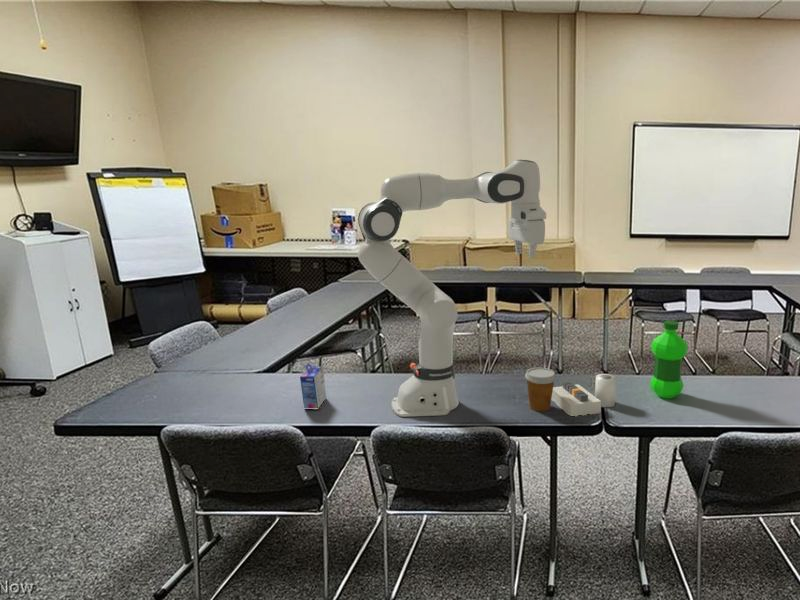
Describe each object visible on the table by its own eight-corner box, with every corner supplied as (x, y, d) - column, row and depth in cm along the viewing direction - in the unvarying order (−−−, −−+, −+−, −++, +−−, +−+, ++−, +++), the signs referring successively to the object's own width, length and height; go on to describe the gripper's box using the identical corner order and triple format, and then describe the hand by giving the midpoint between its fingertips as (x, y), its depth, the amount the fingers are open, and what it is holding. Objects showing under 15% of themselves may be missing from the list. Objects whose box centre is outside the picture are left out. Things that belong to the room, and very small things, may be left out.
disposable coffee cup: (552, 401, 171) (552, 366, 168) (557, 413, 162) (558, 377, 159) (522, 401, 172) (523, 367, 169) (526, 413, 163) (527, 378, 160)
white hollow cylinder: (601, 408, 164) (602, 381, 162) (591, 400, 170) (592, 374, 168) (618, 406, 165) (619, 379, 163) (607, 398, 171) (609, 372, 169)
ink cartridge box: (311, 398, 183) (308, 359, 179) (326, 398, 182) (323, 359, 179) (302, 410, 173) (298, 369, 170) (318, 410, 172) (314, 370, 169)
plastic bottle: (673, 388, 176) (678, 317, 170) (689, 401, 166) (695, 326, 160) (643, 389, 176) (648, 318, 171) (657, 402, 166) (662, 327, 160)
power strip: (570, 417, 159) (571, 398, 158) (539, 389, 180) (539, 373, 179) (600, 413, 161) (601, 395, 159) (566, 386, 182) (566, 370, 181)
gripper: (503, 211, 174) (503, 252, 177) (529, 215, 154) (528, 260, 157) (521, 210, 175) (521, 250, 178) (549, 213, 155) (548, 259, 158)
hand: (525, 255), depth 167 cm, fingers open, 8 cm apart
